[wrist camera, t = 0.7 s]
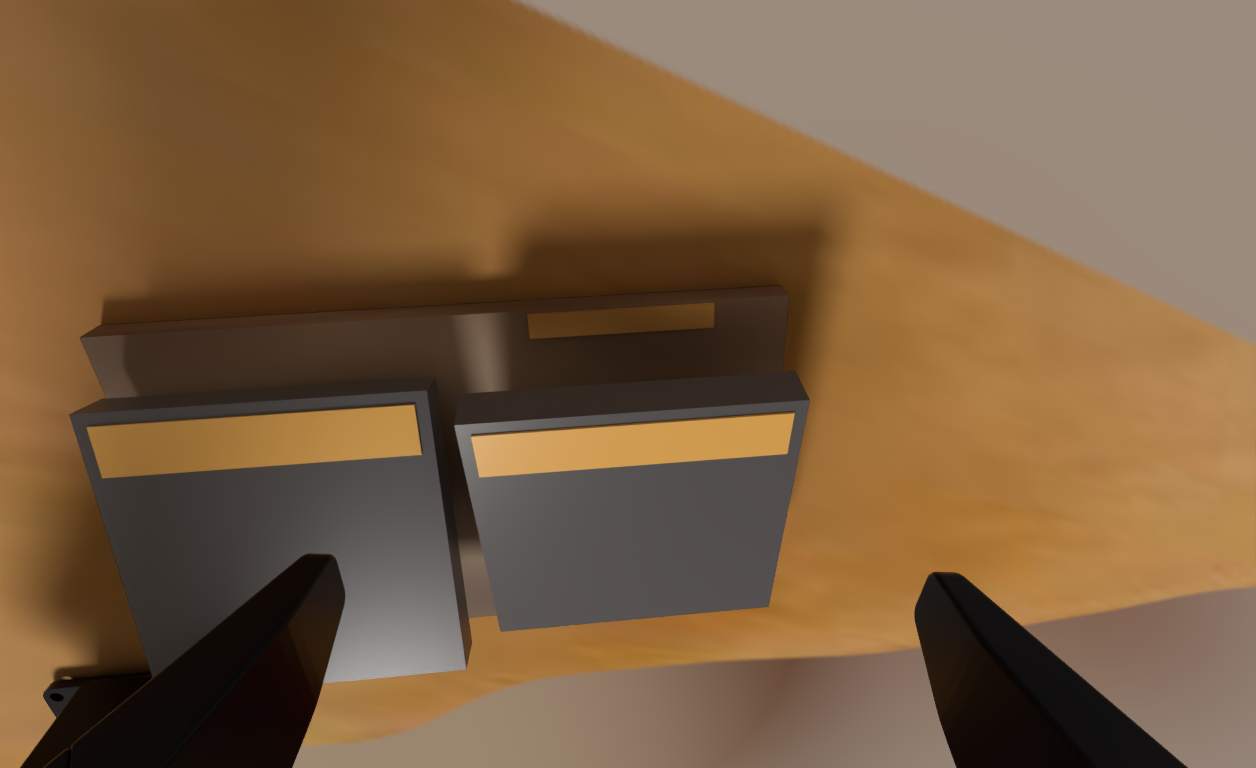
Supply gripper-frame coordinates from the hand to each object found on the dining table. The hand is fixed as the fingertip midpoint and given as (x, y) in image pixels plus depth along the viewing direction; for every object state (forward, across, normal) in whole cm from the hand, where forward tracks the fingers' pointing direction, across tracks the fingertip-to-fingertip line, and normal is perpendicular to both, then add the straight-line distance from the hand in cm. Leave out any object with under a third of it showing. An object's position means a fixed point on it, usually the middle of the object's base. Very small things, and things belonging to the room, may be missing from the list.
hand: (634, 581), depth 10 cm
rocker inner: (+8, +10, +8) cm, 16 cm away
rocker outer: (+10, 0, +8) cm, 12 cm away
